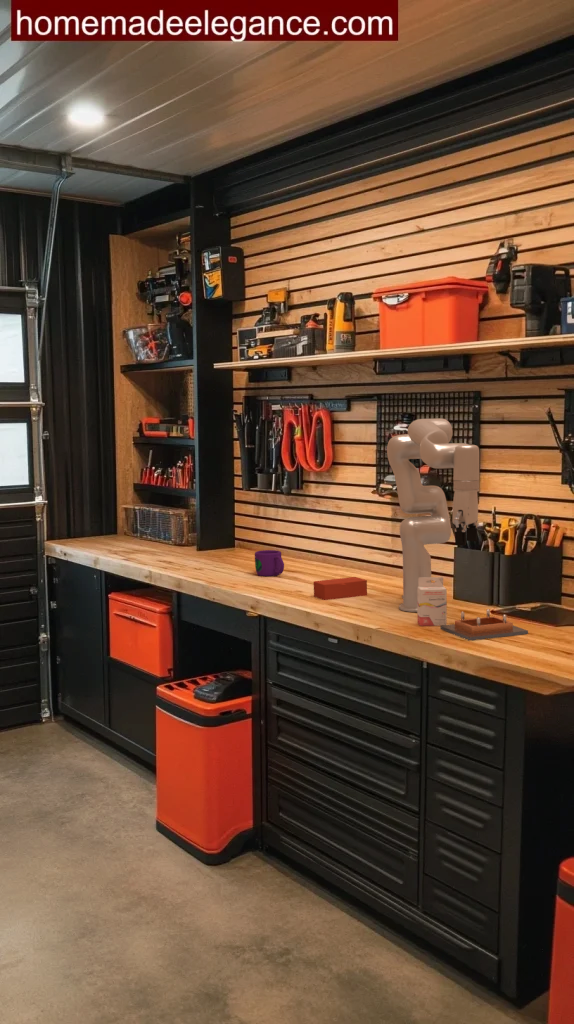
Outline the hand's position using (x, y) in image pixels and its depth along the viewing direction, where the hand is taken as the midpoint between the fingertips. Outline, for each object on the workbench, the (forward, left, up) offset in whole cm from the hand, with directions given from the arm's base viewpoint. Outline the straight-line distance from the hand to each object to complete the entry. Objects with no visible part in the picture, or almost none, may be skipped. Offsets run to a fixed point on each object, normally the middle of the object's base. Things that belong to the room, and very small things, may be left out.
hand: (466, 542), depth 272 cm
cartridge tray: (+2, +5, -27) cm, 28 cm away
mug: (-126, -19, -27) cm, 130 cm away
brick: (-71, -11, -28) cm, 77 cm away
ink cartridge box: (-14, -4, -27) cm, 31 cm away
